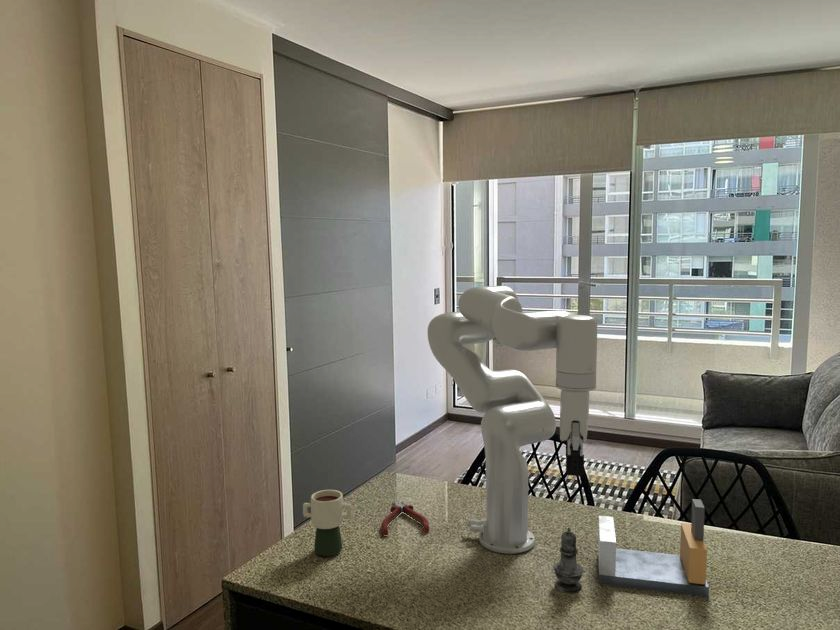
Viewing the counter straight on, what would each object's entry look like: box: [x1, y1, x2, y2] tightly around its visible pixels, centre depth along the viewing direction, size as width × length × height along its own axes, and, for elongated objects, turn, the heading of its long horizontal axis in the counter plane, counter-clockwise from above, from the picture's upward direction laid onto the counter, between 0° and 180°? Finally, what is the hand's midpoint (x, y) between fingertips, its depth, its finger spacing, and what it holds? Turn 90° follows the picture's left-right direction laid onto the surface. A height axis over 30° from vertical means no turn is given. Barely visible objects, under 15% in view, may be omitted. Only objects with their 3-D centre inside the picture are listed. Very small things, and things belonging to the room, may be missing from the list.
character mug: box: [302, 489, 353, 557], centre depth 136 cm, size 11×7×13 cm, turn 86°
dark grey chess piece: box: [552, 527, 585, 594], centre depth 121 cm, size 6×6×12 cm
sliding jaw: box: [679, 498, 708, 585], centre depth 122 cm, size 3×11×14 cm, turn 165°
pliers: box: [380, 497, 430, 536], centre depth 154 cm, size 12×20×3 cm, turn 7°
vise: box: [597, 515, 710, 598], centre depth 125 cm, size 20×12×9 cm, turn 75°
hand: (574, 466), depth 119 cm, fingers open, 9 cm apart
